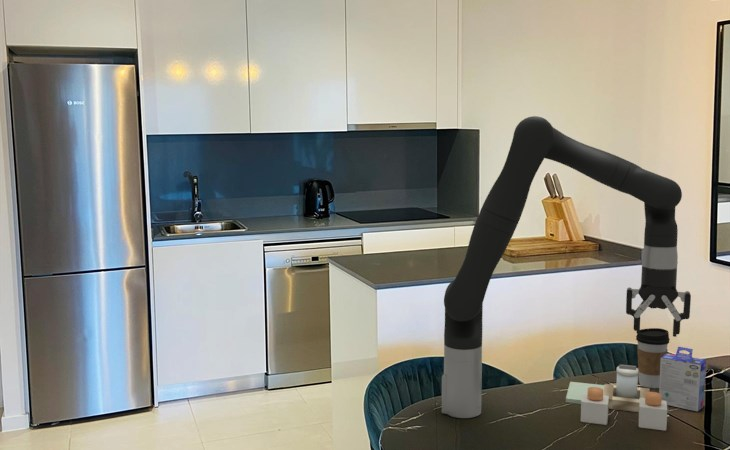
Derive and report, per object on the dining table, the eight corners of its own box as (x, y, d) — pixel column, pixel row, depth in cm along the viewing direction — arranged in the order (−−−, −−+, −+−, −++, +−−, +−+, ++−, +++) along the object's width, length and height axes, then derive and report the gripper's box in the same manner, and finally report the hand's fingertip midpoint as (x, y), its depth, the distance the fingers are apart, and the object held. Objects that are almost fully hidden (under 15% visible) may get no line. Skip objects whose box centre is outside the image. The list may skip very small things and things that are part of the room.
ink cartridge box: (704, 405, 185) (707, 350, 183) (699, 412, 181) (702, 355, 179) (663, 397, 191) (666, 343, 189) (657, 404, 187) (660, 348, 185)
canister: (615, 405, 186) (616, 367, 185) (615, 398, 191) (617, 361, 189) (637, 407, 184) (638, 370, 183) (637, 400, 189) (638, 363, 188)
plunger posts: (580, 421, 176) (581, 401, 175) (582, 410, 183) (583, 391, 182) (666, 432, 169) (667, 411, 169) (665, 420, 176) (666, 400, 175)
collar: (602, 408, 184) (602, 398, 184) (604, 392, 194) (604, 383, 194) (649, 413, 180) (650, 403, 180) (649, 397, 191) (649, 388, 190)
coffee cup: (672, 389, 196) (675, 335, 194) (640, 390, 196) (642, 335, 194) (660, 379, 204) (662, 326, 202) (629, 379, 204) (631, 326, 202)
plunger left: (586, 415, 177) (587, 391, 176) (587, 409, 180) (588, 386, 179) (602, 417, 175) (603, 393, 174) (602, 411, 179) (603, 388, 178)
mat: (565, 402, 188) (565, 398, 188) (570, 385, 200) (570, 381, 200) (602, 406, 185) (602, 402, 185) (604, 388, 197) (605, 385, 197)
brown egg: (644, 420, 173) (645, 396, 172) (644, 415, 176) (645, 391, 176) (660, 422, 172) (662, 398, 171) (660, 416, 175) (661, 392, 174)
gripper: (626, 265, 168) (623, 335, 170) (694, 269, 163) (690, 341, 165) (626, 260, 175) (623, 327, 177) (692, 263, 170) (688, 332, 172)
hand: (656, 334), depth 171 cm, fingers open, 7 cm apart
